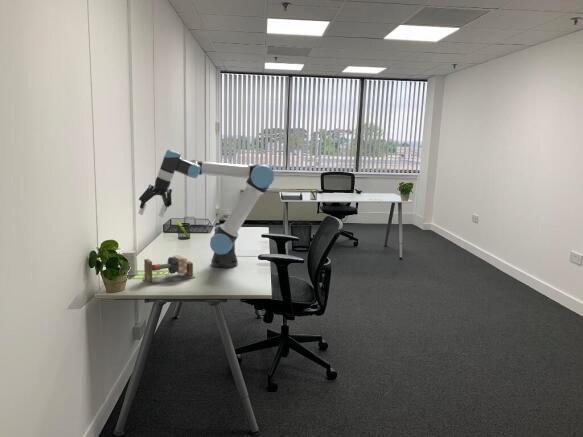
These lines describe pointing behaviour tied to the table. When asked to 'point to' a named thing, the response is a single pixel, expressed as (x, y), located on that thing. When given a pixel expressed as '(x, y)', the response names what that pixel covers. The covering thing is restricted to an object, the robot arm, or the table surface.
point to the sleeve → (181, 264)
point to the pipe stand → (168, 278)
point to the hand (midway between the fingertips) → (150, 215)
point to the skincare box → (131, 261)
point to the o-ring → (174, 266)
